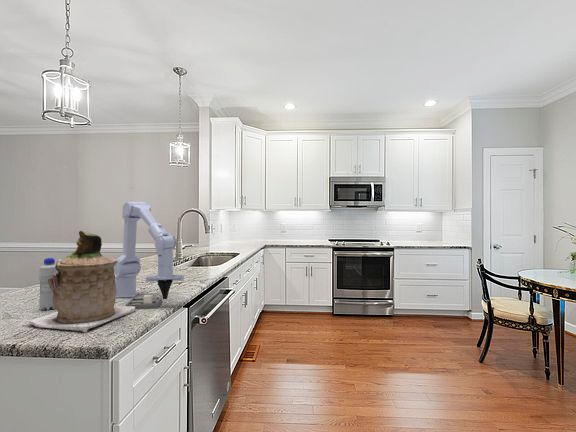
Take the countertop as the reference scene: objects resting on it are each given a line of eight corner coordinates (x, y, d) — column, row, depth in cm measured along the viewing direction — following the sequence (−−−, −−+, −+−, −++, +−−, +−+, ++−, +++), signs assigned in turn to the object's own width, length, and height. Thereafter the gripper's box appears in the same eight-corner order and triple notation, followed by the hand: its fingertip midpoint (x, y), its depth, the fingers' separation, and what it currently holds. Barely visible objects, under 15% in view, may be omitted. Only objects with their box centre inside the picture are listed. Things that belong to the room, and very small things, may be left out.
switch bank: (125, 309, 123) (125, 304, 123) (132, 302, 133) (132, 297, 133) (157, 308, 126) (157, 302, 126) (162, 301, 136) (162, 296, 135)
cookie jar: (138, 311, 122) (139, 229, 122) (84, 334, 98) (85, 232, 98) (85, 306, 128) (86, 227, 128) (22, 327, 104) (22, 230, 104)
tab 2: (148, 301, 131) (148, 293, 131) (149, 299, 134) (149, 291, 133) (156, 301, 132) (156, 292, 132) (157, 299, 134) (157, 291, 134)
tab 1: (143, 305, 126) (143, 296, 126) (144, 303, 128) (145, 295, 128) (151, 305, 126) (151, 296, 126) (152, 303, 129) (152, 294, 129)
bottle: (36, 312, 119) (36, 259, 119) (40, 307, 125) (40, 257, 125) (58, 309, 123) (58, 258, 122) (61, 305, 128) (61, 256, 128)
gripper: (143, 267, 123) (143, 302, 123) (182, 266, 126) (182, 300, 126) (148, 264, 130) (148, 297, 130) (184, 263, 133) (184, 295, 133)
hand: (165, 298), depth 128 cm, fingers closed
